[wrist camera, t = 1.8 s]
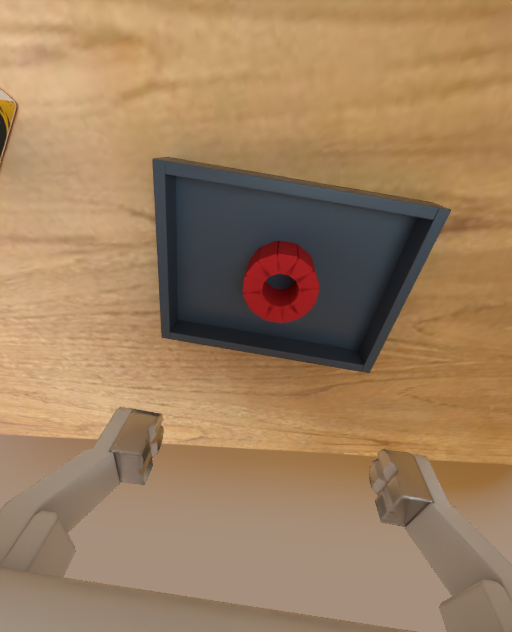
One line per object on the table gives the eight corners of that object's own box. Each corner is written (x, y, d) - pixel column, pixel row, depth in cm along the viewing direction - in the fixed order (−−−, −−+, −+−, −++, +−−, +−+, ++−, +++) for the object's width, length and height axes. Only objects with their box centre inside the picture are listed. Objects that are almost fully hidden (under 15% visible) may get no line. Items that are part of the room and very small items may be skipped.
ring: (322, 247, 22) (328, 262, 19) (305, 308, 25) (308, 327, 22) (252, 235, 22) (247, 248, 19) (244, 297, 25) (238, 316, 22)
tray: (432, 202, 20) (451, 209, 18) (362, 354, 28) (369, 373, 25) (167, 156, 20) (152, 158, 18) (171, 322, 28) (161, 337, 25)
